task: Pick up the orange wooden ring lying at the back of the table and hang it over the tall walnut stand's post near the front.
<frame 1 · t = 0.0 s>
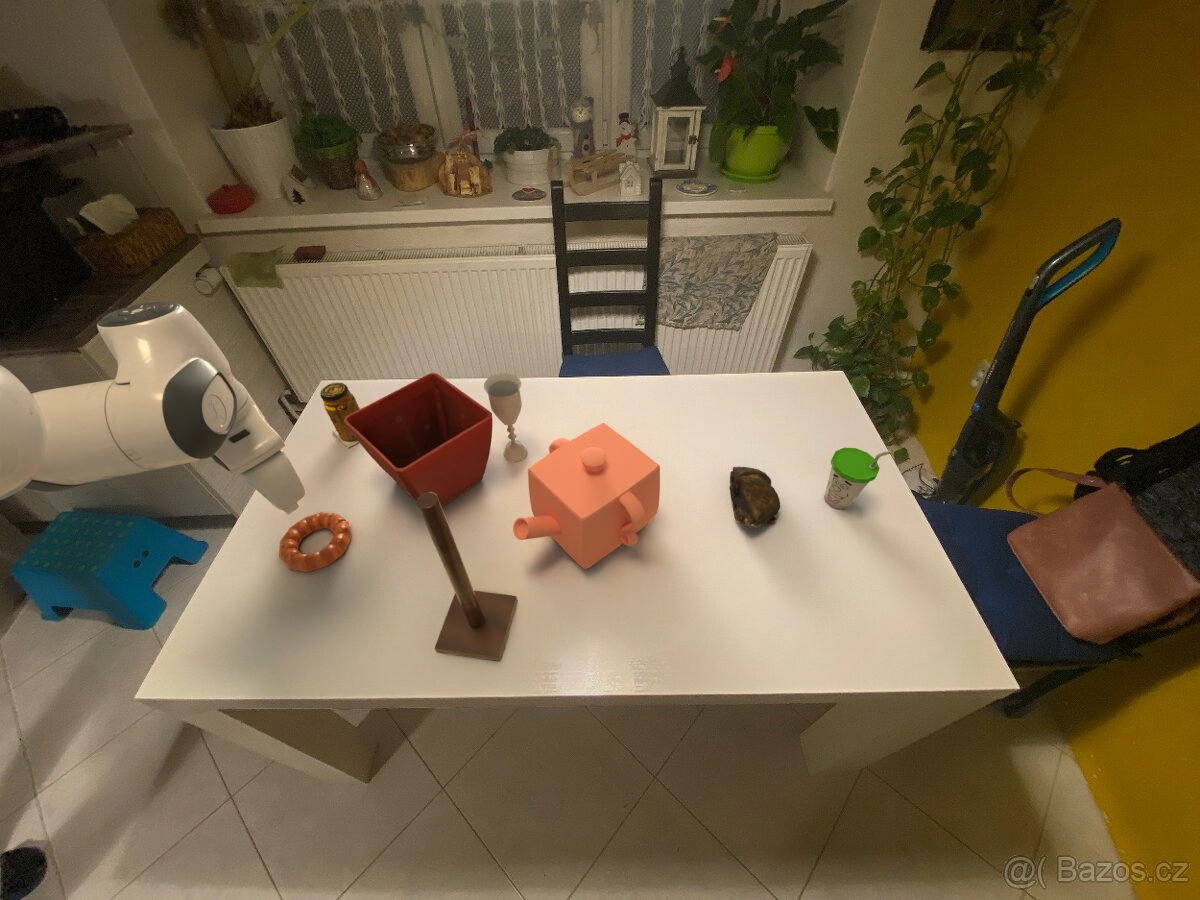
hand: (273, 493, 73), 20 cm above the table, tool pointing down, fingers open, 8 cm apart
stand: (478, 625, 80), on the table
ring: (315, 540, 90), point 1 cm above the table
cup: (836, 500, 97), on the table
teapot: (580, 533, 92), on the table
chalice: (515, 453, 106), on the table
dark brown irregular lump: (751, 504, 96), on the table
condiment: (359, 431, 112), on the table
flower pot: (440, 479, 101), on the table
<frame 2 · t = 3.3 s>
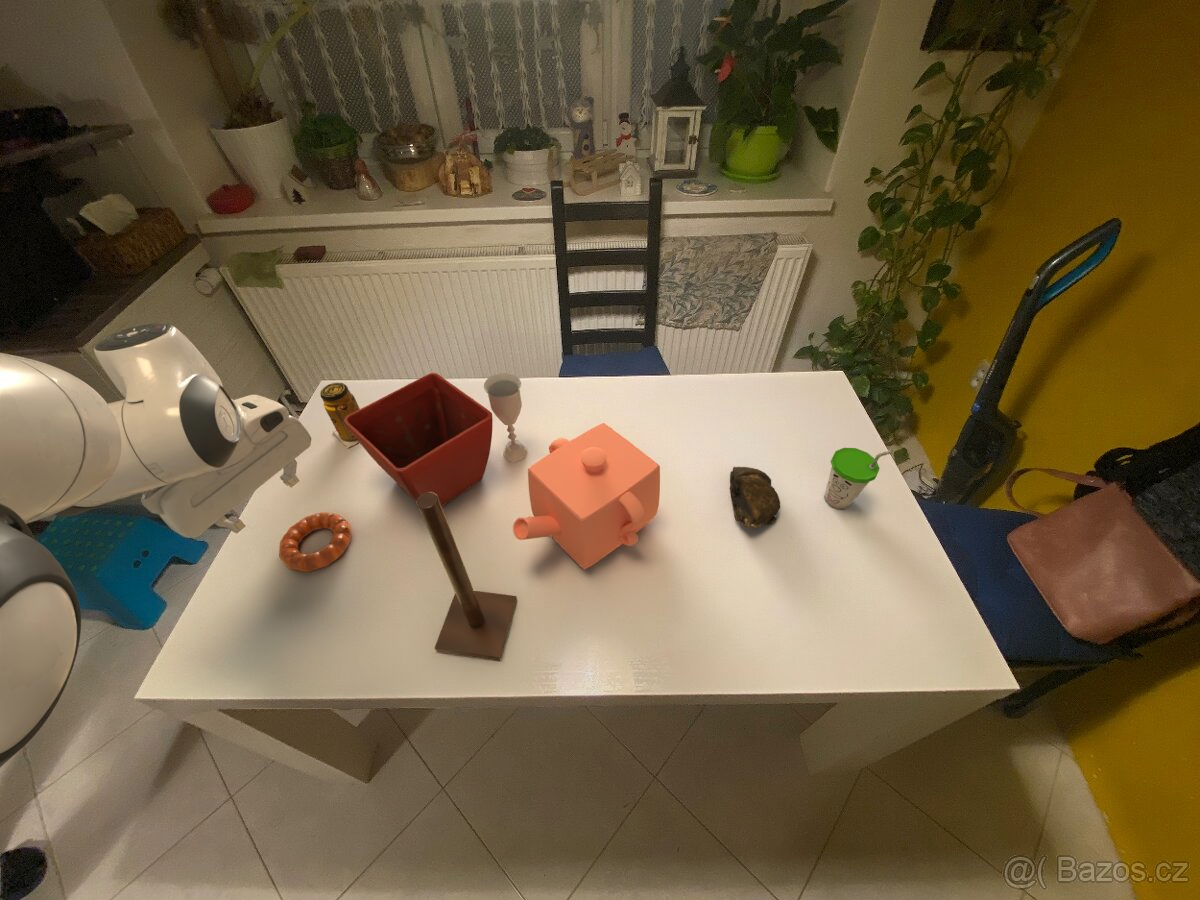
hand: (266, 505, 75), 17 cm above the table, tool pointing down, fingers open, 8 cm apart
nothing on the table moved.
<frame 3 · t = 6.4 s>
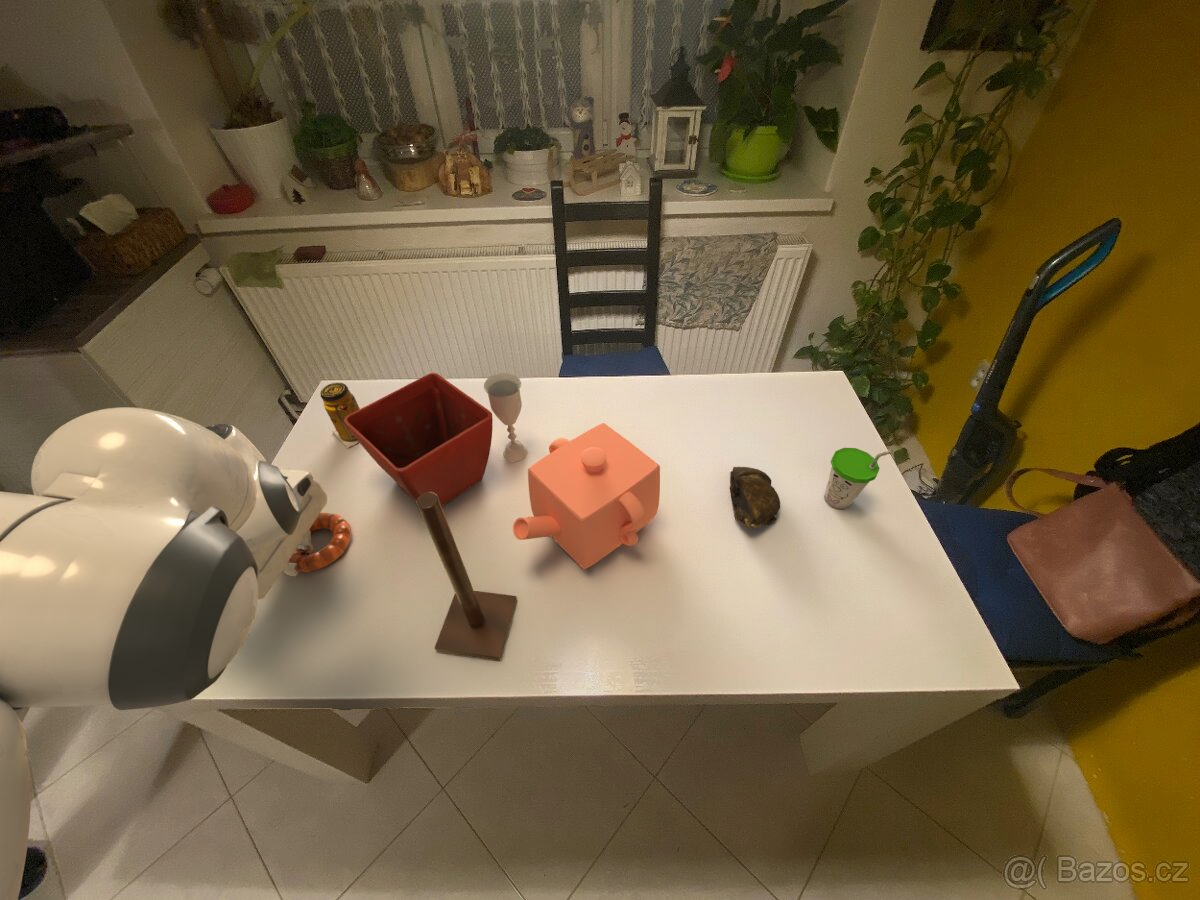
hand: (301, 561, 86), 2 cm above the table, tool pointing down, fingers closed on ring, 3 cm apart
ring: (315, 541, 90), point 1 cm above the table, touching gripper
everything else where it was.
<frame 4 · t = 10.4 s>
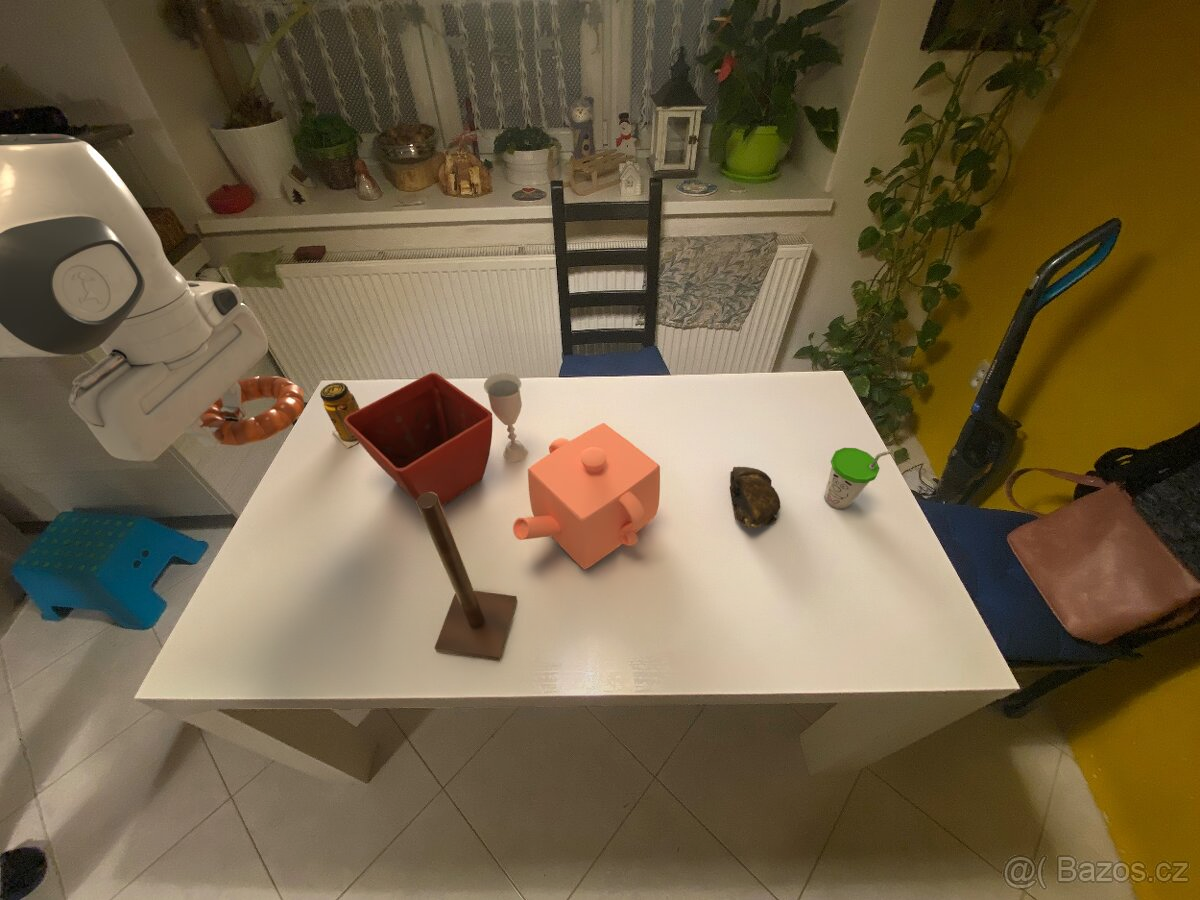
hand: (226, 430, 59), 36 cm above the table, tool pointing down, fingers closed on ring, 3 cm apart
ring: (251, 408, 62), point 36 cm above the table, touching gripper
everything else where it was.
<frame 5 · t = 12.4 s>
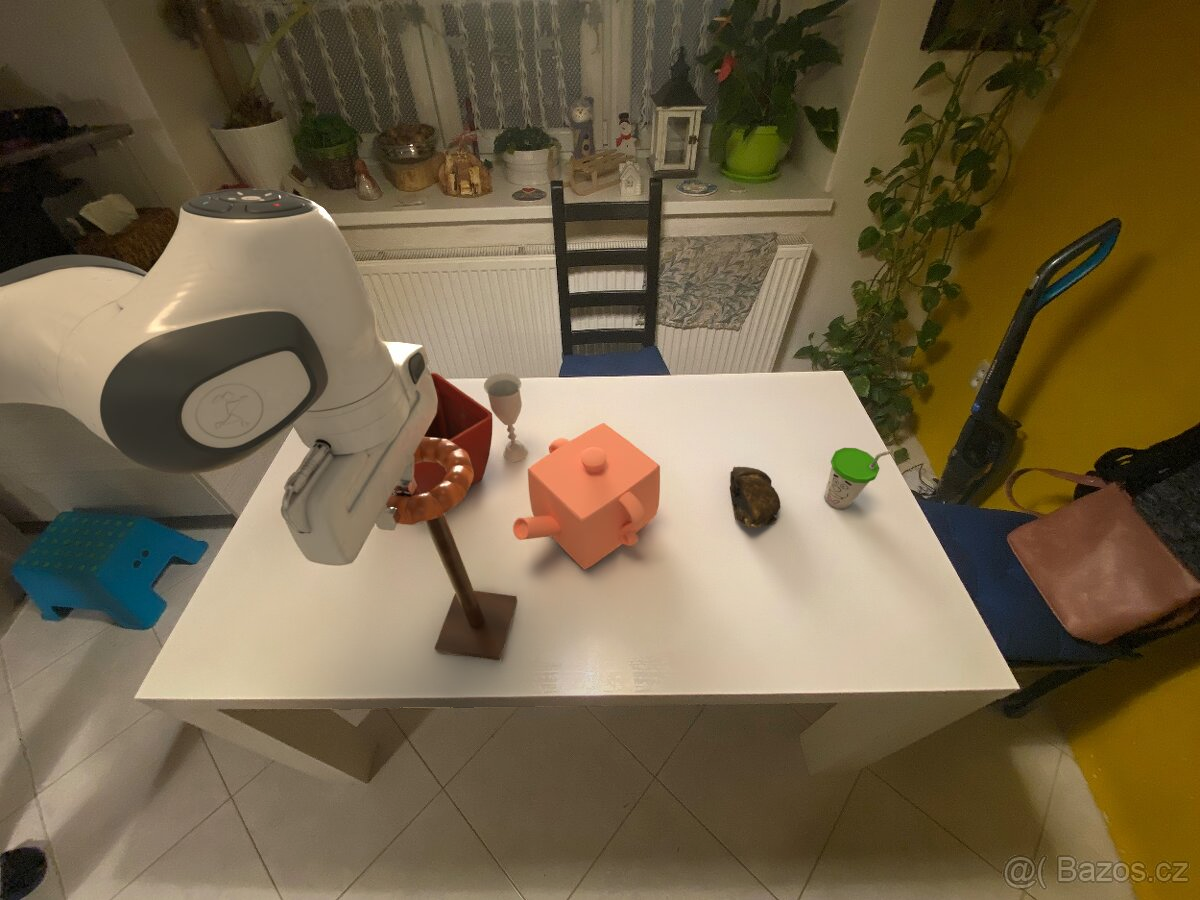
hand: (399, 507, 51), 36 cm above the table, tool pointing down, fingers closed on ring, 3 cm apart
ring: (417, 478, 54), point 35 cm above the table, touching gripper
everything else where it was.
when the fingers open (31 cm above the table, at t = 14.2 s): ring drops 26 cm, resting on stand.
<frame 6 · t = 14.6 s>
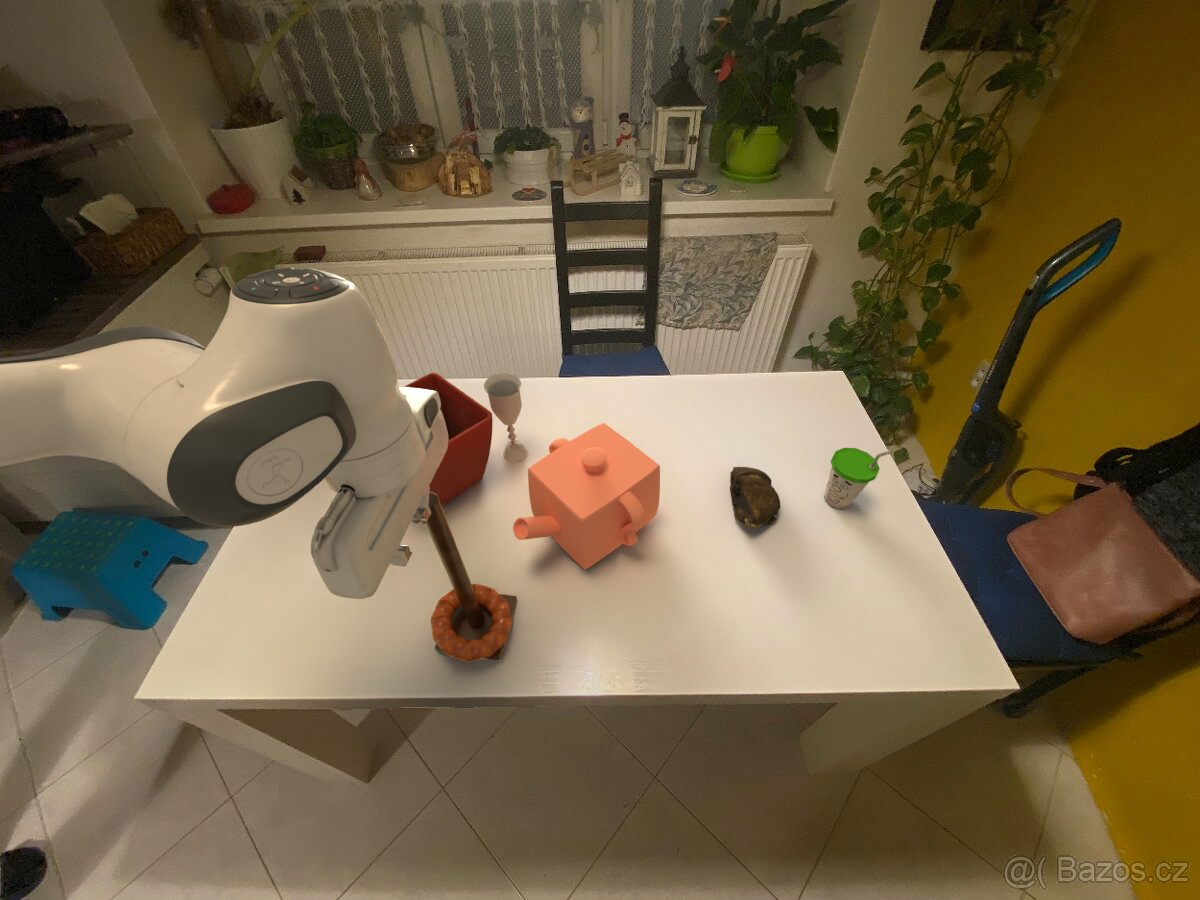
hand: (412, 538, 55), 31 cm above the table, tool pointing down, fingers open, 4 cm apart
ring: (472, 620, 76), point 4 cm above the table, tilted 17°, touching stand
everything else where it was.
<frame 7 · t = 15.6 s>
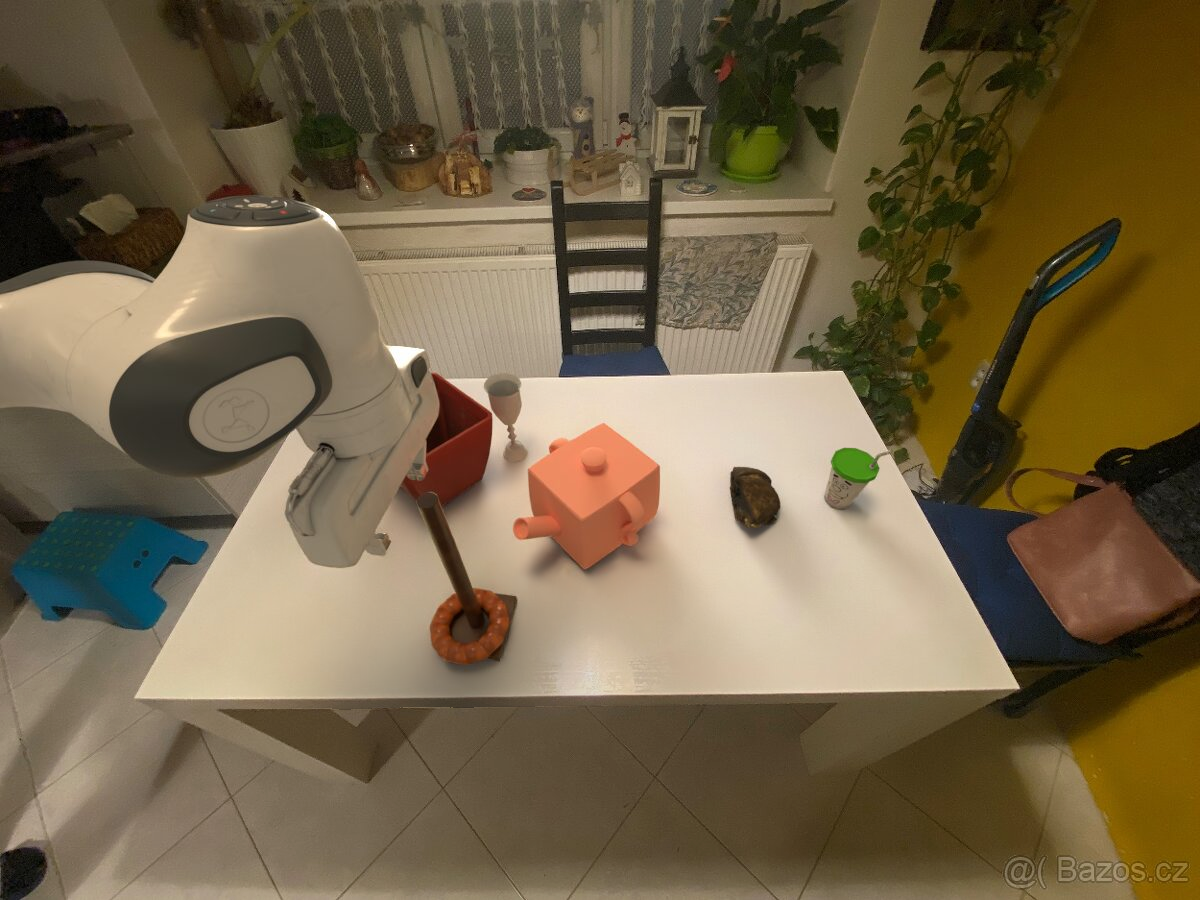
hand: (401, 509, 51), 35 cm above the table, tool pointing down, fingers open, 8 cm apart
ring: (469, 624, 77), point 3 cm above the table, touching stand
everything else where it was.
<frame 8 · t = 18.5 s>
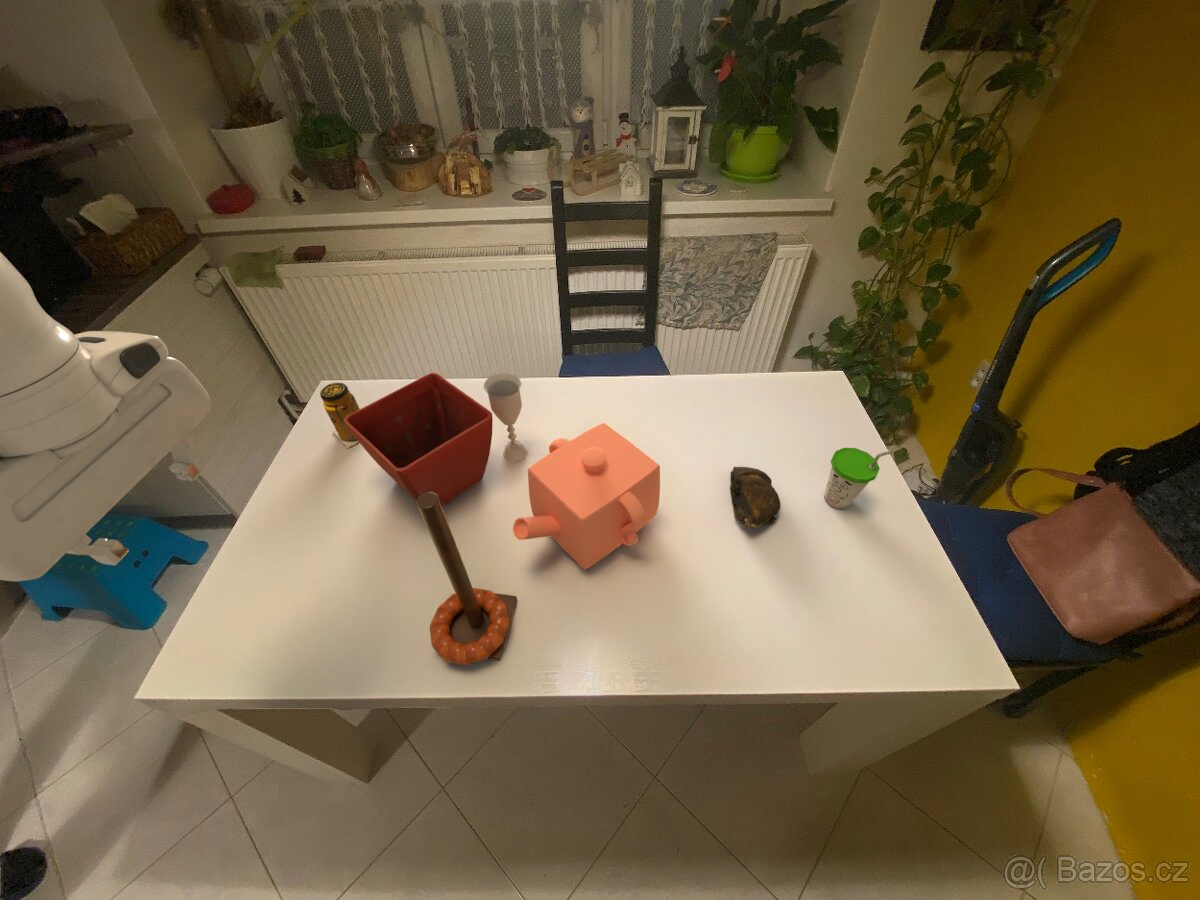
hand: (157, 513, 47), 39 cm above the table, tool pointing down, fingers open, 8 cm apart
nothing on the table moved.
at the end: ring 1.4 cm off-centre on the stand, point 2.9 cm above the stand's base; the gripper is holding nothing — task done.
